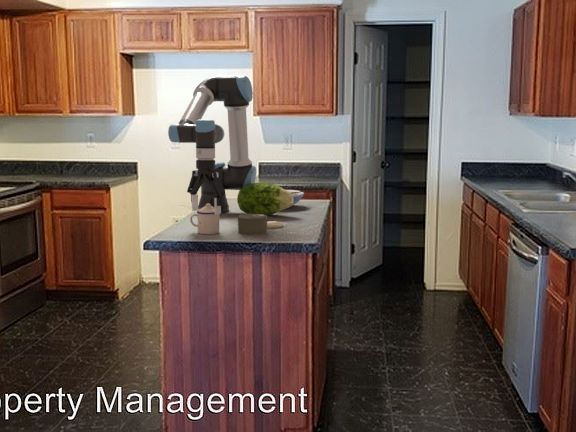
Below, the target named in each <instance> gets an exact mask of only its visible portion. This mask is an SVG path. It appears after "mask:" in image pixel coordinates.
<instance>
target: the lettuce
mask: <svg viewBox="0 0 576 432" xmlns="http://www.w3.org/2000/svg"><path fill="white" fill-rule="evenodd" d="M287 190H288V189H284V187H282V186H280V185H277V184H274V183H268V182H255V183H253V184H249V185H246V186H244V187H243V188H242V189H241V190H238V193H237V198H236V201H237V205H238V208H239V210H241V212H243V214H264V215H267V216H271V215H274V214H277V213H280V212H282V211H284V210H286V209H289V208H290V207H292V206H293V205H292V204H293V200H294V199H293V195H292V194H291V193H290V192H289V191H287Z"/></svg>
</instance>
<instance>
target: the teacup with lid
mask: <svg viewBox="0 0 576 432" xmlns="http://www.w3.org/2000/svg"><path fill="white" fill-rule="evenodd" d="M194 217H197V224H196V223H194V222H193V218H194ZM189 222H190V223H191V225H192V226H193V227H196V228H197V233H198V234H200V235H216V234H219V233H220V214H215V208H214V207H212V206H211V204H206V206H205V207H203V208H201V209H198V210H197V211H196V213H195V214H192V215H190V218H189Z"/></svg>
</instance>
